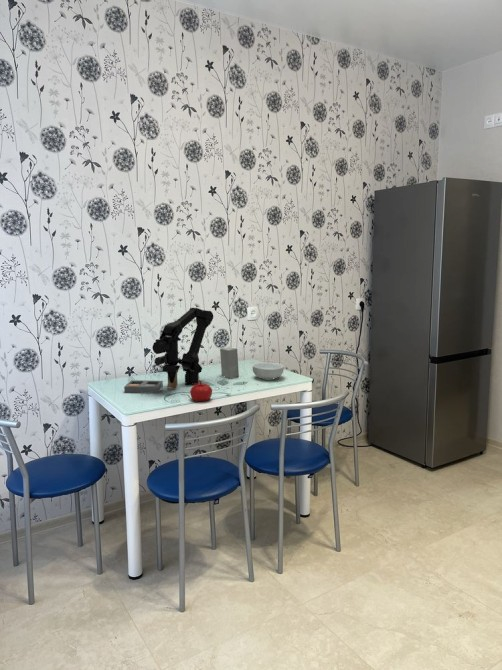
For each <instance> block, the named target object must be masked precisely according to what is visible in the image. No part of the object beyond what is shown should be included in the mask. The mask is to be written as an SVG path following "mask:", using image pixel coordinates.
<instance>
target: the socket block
mask: <svg viewBox="0 0 502 670" xmlns="http://www.w3.org/2000/svg"><path fill="white" fill-rule="evenodd" d="M163 383H164V382H163V380H148V379H147V380H146V379H144V380H142V379H141V380H140V379H139V380H137V379H135V380H133V379H130V380H129V381H128V382H127V383H126V384H125V385H124V386H123V388H124V394H125V393H126V394H158V393H159V392H160V391H161V390H162V388H163V386H164V385H163Z"/></svg>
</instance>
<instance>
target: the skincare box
mask: <svg viewBox="0 0 502 670" xmlns="http://www.w3.org/2000/svg"><path fill="white" fill-rule="evenodd" d="M219 352H220V365H221V366H220V367H221V368H220V369H221V371H220V373H221V376H222V377H224V376H225V377H224V378H227V379H233V378H239V376H240V374H239V373H240V372H239V371H240V370H239V357H238V356H239V354H238V348H235V347H231V346H226V347H220V349H219Z"/></svg>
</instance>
